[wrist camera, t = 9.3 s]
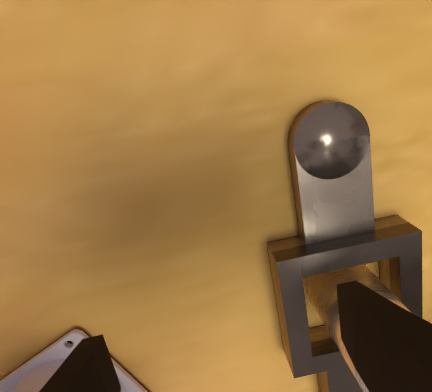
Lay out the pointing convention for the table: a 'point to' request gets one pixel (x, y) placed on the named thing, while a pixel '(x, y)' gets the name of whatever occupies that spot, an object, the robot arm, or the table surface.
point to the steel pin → (328, 302)
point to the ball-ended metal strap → (336, 236)
